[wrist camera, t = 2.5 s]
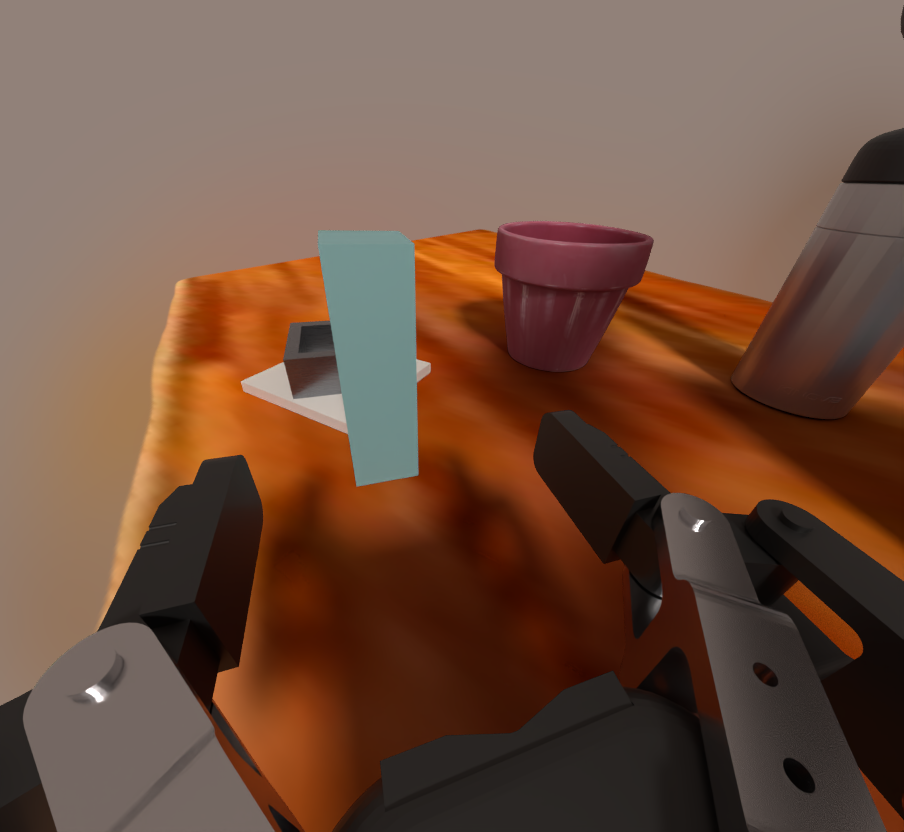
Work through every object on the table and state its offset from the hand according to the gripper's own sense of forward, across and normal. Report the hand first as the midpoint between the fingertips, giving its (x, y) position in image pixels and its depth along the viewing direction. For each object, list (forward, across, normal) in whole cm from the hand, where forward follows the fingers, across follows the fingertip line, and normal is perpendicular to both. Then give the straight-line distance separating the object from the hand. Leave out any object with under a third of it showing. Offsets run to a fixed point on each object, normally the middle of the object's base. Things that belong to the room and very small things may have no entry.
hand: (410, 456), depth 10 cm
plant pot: (+25, -21, +10) cm, 34 cm away
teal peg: (+12, 0, +10) cm, 15 cm away
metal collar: (+24, +2, +10) cm, 26 cm away
